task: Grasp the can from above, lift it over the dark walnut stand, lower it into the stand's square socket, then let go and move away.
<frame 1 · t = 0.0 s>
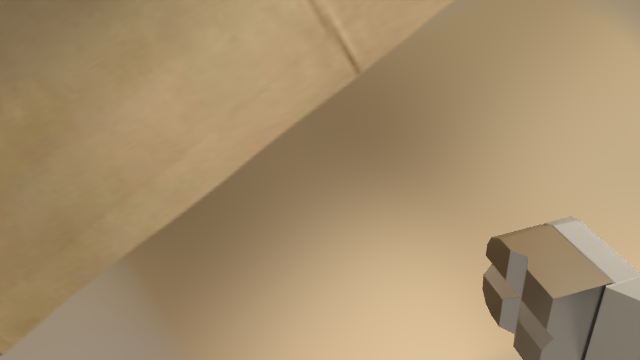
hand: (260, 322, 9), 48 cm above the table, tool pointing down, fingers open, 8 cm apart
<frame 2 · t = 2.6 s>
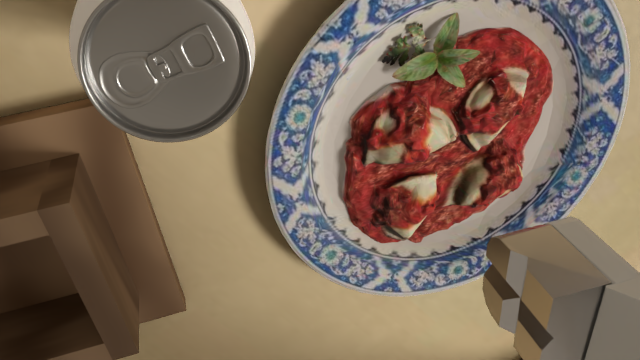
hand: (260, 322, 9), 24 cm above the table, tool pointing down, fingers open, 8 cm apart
ceramic plate: (441, 133, 38), on the table
socket stand: (20, 242, 33), on the table
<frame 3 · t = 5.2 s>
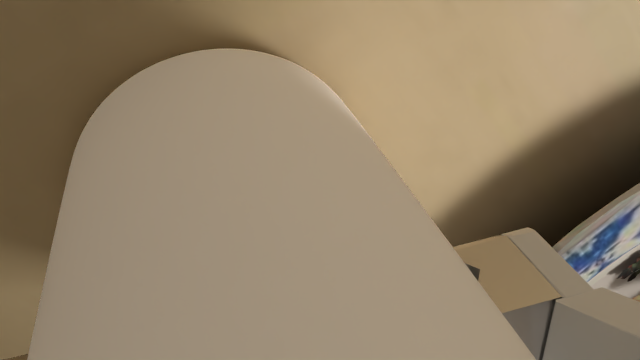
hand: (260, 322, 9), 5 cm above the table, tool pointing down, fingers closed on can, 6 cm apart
can: (223, 173, 13), on the table, touching gripper
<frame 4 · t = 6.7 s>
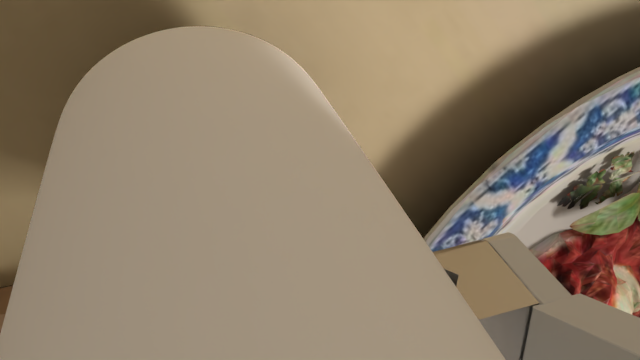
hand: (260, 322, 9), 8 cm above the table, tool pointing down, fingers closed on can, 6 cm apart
can: (201, 146, 14), point 2 cm above the table, touching gripper
ceramic plate: (603, 284, 26), on the table
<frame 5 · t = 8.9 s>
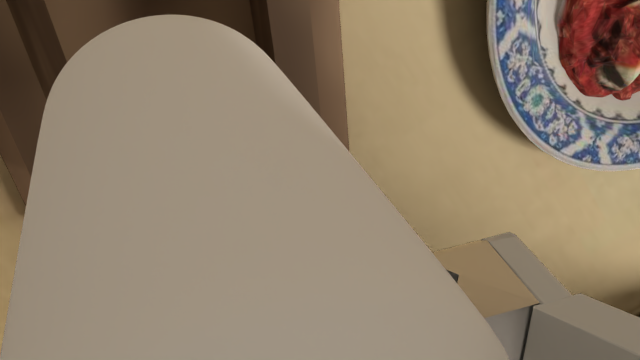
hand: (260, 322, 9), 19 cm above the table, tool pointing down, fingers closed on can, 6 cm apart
can: (174, 126, 15), point 11 cm above the table, touching gripper
socket stand: (162, 39, 25), on the table
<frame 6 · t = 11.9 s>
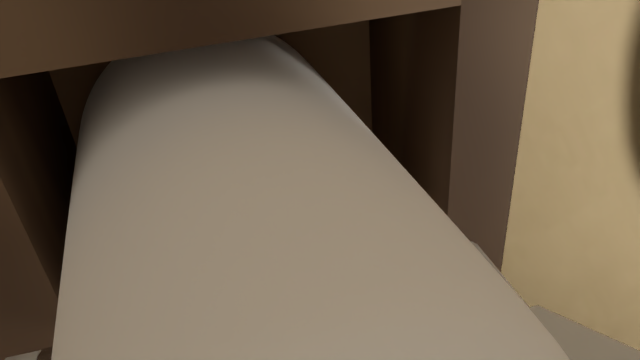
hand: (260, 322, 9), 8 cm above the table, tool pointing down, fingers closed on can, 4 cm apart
can: (209, 132, 15), point 1 cm above the table, touching gripper, socket stand
socket stand: (227, 109, 16), on the table
when the fingers open (8 cm above the table, at t = 11.9 s): can stays where it is, resting on socket stand.
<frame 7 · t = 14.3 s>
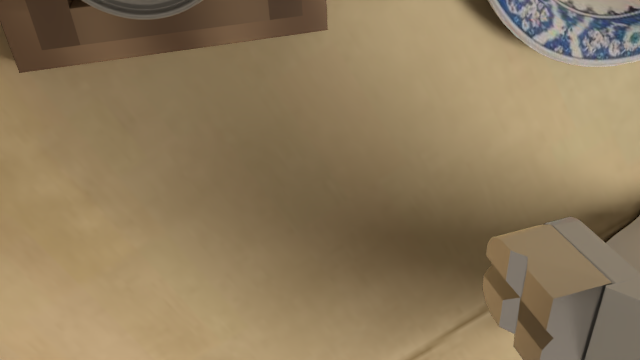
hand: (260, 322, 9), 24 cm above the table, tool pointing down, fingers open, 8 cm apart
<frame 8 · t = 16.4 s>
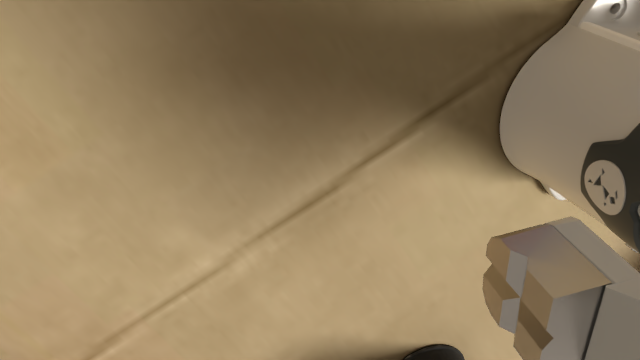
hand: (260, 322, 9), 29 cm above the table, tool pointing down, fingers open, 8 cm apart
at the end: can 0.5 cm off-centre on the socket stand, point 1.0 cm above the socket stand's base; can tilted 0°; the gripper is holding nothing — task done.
